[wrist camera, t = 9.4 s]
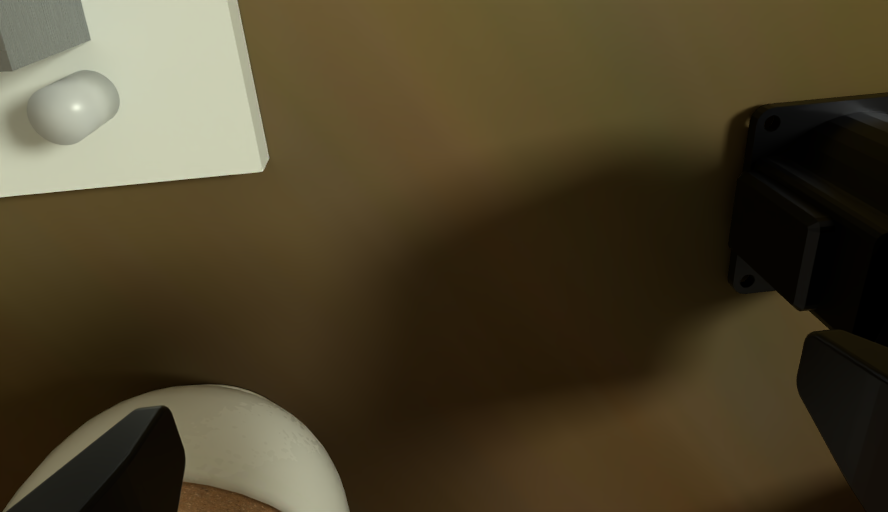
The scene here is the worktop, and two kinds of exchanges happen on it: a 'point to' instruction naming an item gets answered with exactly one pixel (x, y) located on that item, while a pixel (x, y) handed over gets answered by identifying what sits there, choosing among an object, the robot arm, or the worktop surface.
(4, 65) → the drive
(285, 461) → the lidded jar
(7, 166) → the white peg board
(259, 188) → the worktop surface
